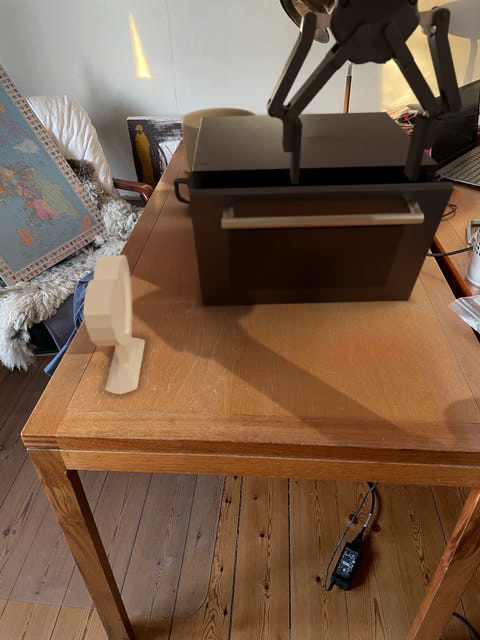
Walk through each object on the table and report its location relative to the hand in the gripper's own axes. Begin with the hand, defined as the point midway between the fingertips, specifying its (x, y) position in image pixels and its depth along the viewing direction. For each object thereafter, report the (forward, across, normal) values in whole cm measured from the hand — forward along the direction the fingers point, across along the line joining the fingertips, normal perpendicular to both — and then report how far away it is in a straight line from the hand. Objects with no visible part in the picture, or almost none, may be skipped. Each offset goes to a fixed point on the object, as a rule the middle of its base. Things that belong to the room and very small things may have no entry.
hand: (352, 178), depth 54 cm
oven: (+32, +1, -37) cm, 49 cm away
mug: (+33, +24, -62) cm, 74 cm away
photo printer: (+33, +27, -94) cm, 103 cm away
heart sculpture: (+33, +33, -3) cm, 47 cm away
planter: (+33, +18, -79) cm, 87 cm away
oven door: (+33, +1, -18) cm, 37 cm away
